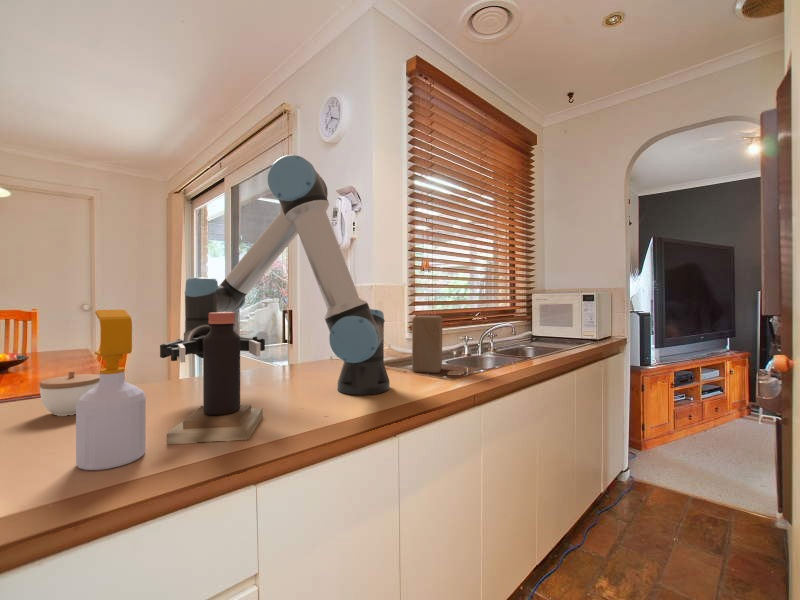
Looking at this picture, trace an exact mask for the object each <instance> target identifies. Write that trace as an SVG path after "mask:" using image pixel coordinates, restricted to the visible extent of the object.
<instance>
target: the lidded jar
mask: <svg viewBox="0 0 800 600" xmlns="http://www.w3.org/2000/svg"><path fill="white" fill-rule="evenodd" d="M99 383H100V374H97V373H95V374H93V373H83V374H82V373H80V374H75V371H74V370H72V371H71V370H70V371H68V375H60V376H56V377H55V376H54V377H50V378H46V379H43V380H41V381H39V387H40V389H39V391H40V398H41V403H42V404H43V407H44V408H45V410H47V411H48V412H50V413H52V414H53V416H54V415H57V416H56V417H68V416H67V415H70V416H75V415H74V414H76V405H77V402H78V400H79V398H81V397H82V396H83V395H84V394H85V393H86V392H88V391H89V390H91V389H93V388H94V387H96V386H97V385H98V384H99Z"/></svg>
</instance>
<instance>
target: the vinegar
mask: <svg viewBox="0 0 800 600" xmlns="http://www.w3.org/2000/svg"><path fill="white" fill-rule="evenodd" d="M209 324H210V325H209V326H210V332H209V333H208V334H207V335H206V336H205V337H204V339H203V358H202V362H203V364H202V365H203V369H202V371H203V373H202V374H203V379H202V380H203V382H202V383H203V391H202V392H203V393H202V394H203V396H202V397H203V399H202V400H203V401H202V402H203V405H202V406H203V411H204V414H206V415H210V416H220V415H228V414H232V413H235V412H237V411H238V410H239V409H240V405H241V351H240V337H241V336H240V335H239V333H237V332H236V331H235V330H234V326H235V325H236V312H235V311H233V312H218V313H209Z"/></svg>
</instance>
